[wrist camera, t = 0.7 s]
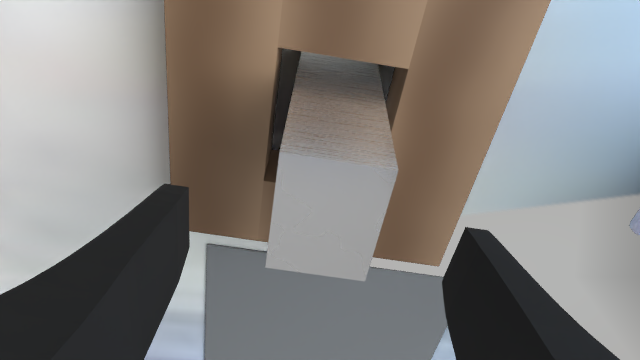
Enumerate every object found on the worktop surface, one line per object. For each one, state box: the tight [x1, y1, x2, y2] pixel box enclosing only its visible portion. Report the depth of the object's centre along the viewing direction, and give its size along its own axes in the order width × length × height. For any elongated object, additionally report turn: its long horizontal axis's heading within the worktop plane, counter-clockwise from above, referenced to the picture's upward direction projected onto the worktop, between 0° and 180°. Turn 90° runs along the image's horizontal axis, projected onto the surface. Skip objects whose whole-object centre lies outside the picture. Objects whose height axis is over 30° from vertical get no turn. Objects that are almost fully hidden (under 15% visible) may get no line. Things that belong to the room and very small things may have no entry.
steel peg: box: [265, 51, 398, 281], centre depth 16 cm, size 3×4×8 cm
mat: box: [205, 244, 448, 360], centre depth 27 cm, size 14×12×1 cm
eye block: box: [164, 0, 551, 266], centre depth 18 cm, size 12×12×2 cm
